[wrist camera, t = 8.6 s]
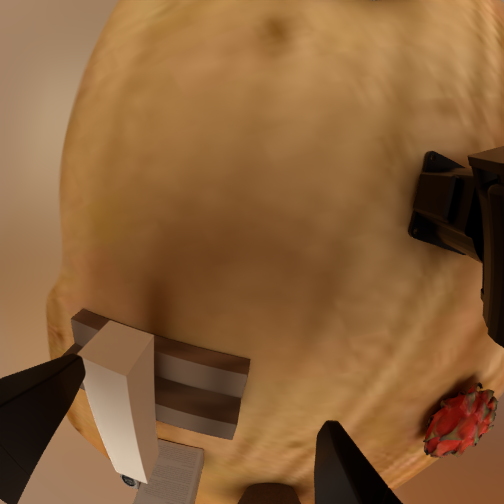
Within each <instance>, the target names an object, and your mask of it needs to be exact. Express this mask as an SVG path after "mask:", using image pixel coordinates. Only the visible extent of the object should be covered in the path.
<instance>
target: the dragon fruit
mask: <svg viewBox="0 0 504 504" xmlns="http://www.w3.org/2000/svg"><path fill="white" fill-rule="evenodd" d="M477 386H479V387H480V389H481V388H483V387H482V384H481V383H480V382H479V383H477V384H474V385H473V386H472V387H471V388H470V389H469V392H468V393H466V392H465V391H460V392H458V396H457V397H455V398H448V399H446V400H445V401H443V400H444V399H443V400H442V401H441V403H440V405H441V408H442V409H441V410H439V411H438V412H437V413H436V414H434V415H432V416H430V418H429V420H428V423H427V425H426V427H429V428H428V431H427V433H426V437H425V440H424V441H423V442H425V446H424V452H425V453H426V455H428V454H430V455H431V457H435V458H436V457H439V458H443V457H445V456H446V455H448V454H450V453H452V454H453V455H454V456H456V457H459V456H461V455H462V454H463V452H464V450H465V448H466V447H467V446H469V445H471V446H473V447H474V446H476V444H477V443H478V441H479V439H480V437H481V436H482V434H484V433H486V432H489V431H490V430H491V429H492V428H493V426H490V427H489V423H492V421H494V419H495V416H496V413H495V410H496V409H497V404H498V401H497V400H496V398H495V397H494V396H493V393H494V391H492V390H489V389H488V390H485V391H479V392H477V391H476V390H477Z"/></svg>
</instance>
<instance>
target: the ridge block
mask: <svg viewBox="0 0 504 504" xmlns="http://www.w3.org/2000/svg"><path fill="white" fill-rule="evenodd" d="M109 321H110V319H107V318H105V317H102V316H99V315H97V314H94V313H92V312H89V311H87V310H84V309H82V310H81V311H79V312H78V313H77V314H76V315H75V316H73V317H72V318H71V323H72V329H73V335H74V341H75V343H74V344H73V345H72V346H71V347H70V348H69V349H68V350H67V351H66V352H65V353H64V354H63V355H62V356H65V355H67V354H70V353H75V354H78V352H79V351H80V350H81V349H82V348H83V347H84V346H85V345H86V344H87V343H88V342H89V341H90V340H91V339H92V338H93V337H94V336H95V335H96V334H97V333H98V332H99V331H100V330H101V329H102V328H103V327H104V326H105V325H106V324H107V323H108V322H109ZM111 321H113V320H111ZM114 322H115V321H114ZM117 323H118V322H117ZM119 324H121V323H119ZM122 325H124V324H122ZM125 326H127V325H125ZM128 327H129V326H128ZM131 328H132V327H131ZM134 329H135V328H134ZM137 330H138V329H137ZM140 331H141V330H140ZM143 332H144V331H143ZM146 333H147V332H146ZM149 334H150V333H149ZM152 335H154V334H152ZM62 356H61V357H62ZM249 365H250V359H245V358H241V357H236V356H232V355H227V354H223V353H219V352H215V351H211V350H207V349H203V348H199V347H195V346H191V345H188V344H184V343H180V342H177V341H173V340H170V339H167V338H163V337H160V336H157V335H154V394H155V414H156V420H157V421H160V422H163V423H167V424H170V425H173V426H176V427H180V428H183V429H187V430H190V431H194V432H198V433H202V434H206V435H210V436H215V437H219V438H224V439H229V440H232V439H233V436H234V433H235V430H236V427H237V423H238V416H239V410H240V404H241V398H242V394H243V391H244V387H245V384H246V381H247V377H248V372H249ZM80 388H81V389H83V390H85V387H84V384H83V382H82V384H81V386H80Z"/></svg>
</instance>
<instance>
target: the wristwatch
mask: <svg viewBox="0 0 504 504" xmlns="http://www.w3.org/2000/svg"><path fill="white" fill-rule="evenodd" d="M120 477H121V479H122V481H123V482H124V483H125V484H126V485H127V486H129V487H132V488H135V489H139V486H140V484H141V481H140V482H139V481H138V480H135V479H133V478H130V477H128V476H125V475H123V474H120Z"/></svg>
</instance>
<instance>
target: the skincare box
mask: <svg viewBox="0 0 504 504" xmlns="http://www.w3.org/2000/svg"><path fill="white" fill-rule="evenodd" d="M157 441H158V451H159V455H158V458H157V460H156V463H155V466H154V468H153V471H152V474H151V476H150V479H149V482H148V484H146V483H143V482H141V484H140V486H139V489H138V492H137V495H136V497H135V500H134V503H133V504H195V499H196V495H197V491H198V486H199V482H200V477H201V473H202V469H203V464H204V456H203V449H200V448H195V447H190V446H185V445H181V444H177V443H172V442H169V441H165V440H161V439H158V440H157Z"/></svg>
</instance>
